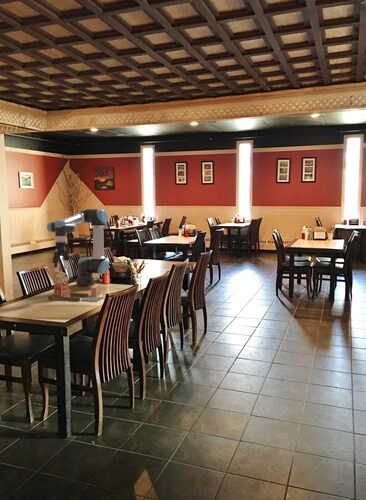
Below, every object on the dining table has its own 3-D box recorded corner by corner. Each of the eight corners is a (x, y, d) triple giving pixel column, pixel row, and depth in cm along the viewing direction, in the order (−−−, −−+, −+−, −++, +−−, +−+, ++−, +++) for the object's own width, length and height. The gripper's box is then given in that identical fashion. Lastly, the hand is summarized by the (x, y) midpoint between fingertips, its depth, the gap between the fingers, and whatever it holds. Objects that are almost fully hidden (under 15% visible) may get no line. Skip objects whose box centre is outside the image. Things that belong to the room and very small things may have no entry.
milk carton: (53, 298, 311) (52, 271, 309) (62, 295, 319) (61, 269, 317) (62, 299, 307) (61, 272, 305) (71, 297, 315) (70, 270, 313)
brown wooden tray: (58, 295, 322) (58, 291, 322) (88, 296, 317) (88, 293, 317) (48, 299, 307) (48, 296, 307) (79, 301, 302) (79, 297, 302)
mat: (88, 297, 315) (88, 296, 315) (103, 298, 313) (103, 297, 313) (81, 300, 304) (81, 300, 304) (96, 301, 301) (96, 301, 301)
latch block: (96, 293, 327) (96, 285, 327) (101, 294, 327) (101, 285, 326) (91, 296, 318) (91, 287, 317) (96, 297, 317) (96, 287, 316)
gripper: (64, 240, 321) (64, 267, 324) (47, 242, 297) (47, 272, 299) (73, 240, 320) (73, 268, 322) (56, 243, 296) (57, 273, 298)
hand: (61, 270), depth 311 cm, fingers open, 13 cm apart
